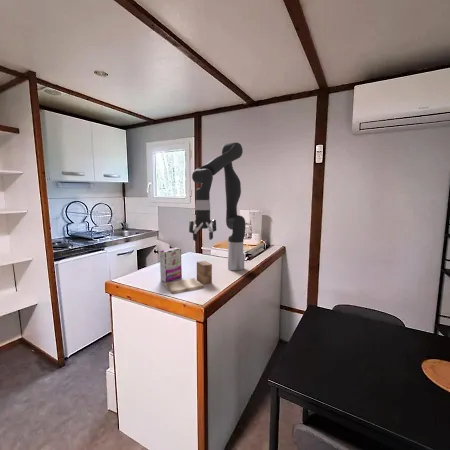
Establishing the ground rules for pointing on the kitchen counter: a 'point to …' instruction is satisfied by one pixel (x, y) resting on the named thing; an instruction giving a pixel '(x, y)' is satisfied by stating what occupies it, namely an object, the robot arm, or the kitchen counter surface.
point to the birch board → (183, 285)
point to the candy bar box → (170, 264)
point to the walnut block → (204, 272)
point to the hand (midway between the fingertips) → (203, 240)
